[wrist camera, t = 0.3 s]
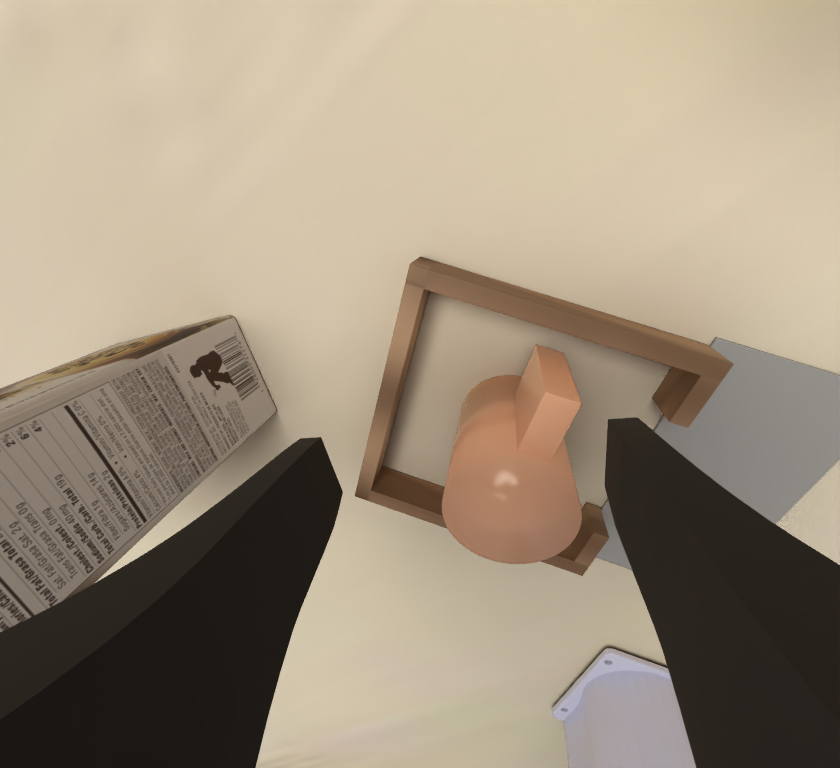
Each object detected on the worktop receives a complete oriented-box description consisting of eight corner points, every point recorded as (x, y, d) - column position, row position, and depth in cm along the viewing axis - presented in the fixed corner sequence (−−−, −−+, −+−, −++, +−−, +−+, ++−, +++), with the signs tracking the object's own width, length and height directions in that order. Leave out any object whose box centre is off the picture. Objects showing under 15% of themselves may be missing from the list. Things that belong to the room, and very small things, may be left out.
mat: (704, 593, 23) (704, 595, 23) (574, 548, 23) (575, 550, 23) (901, 393, 16) (903, 394, 16) (715, 337, 17) (716, 337, 17)
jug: (535, 469, 21) (547, 580, 15) (449, 440, 22) (426, 537, 16) (598, 350, 18) (645, 430, 12) (494, 318, 18) (487, 379, 12)
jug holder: (575, 543, 23) (582, 575, 21) (367, 471, 24) (354, 496, 22) (707, 344, 17) (733, 364, 15) (420, 256, 18) (409, 264, 16)
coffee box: (167, 431, 26) (-246, 718, 12) (113, 342, 24) (-489, 566, 9) (282, 413, 23) (-69, 755, 9) (235, 310, 21) (-343, 555, 7)
